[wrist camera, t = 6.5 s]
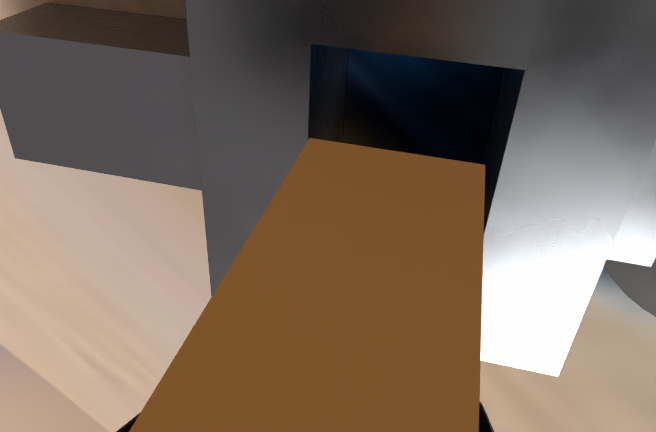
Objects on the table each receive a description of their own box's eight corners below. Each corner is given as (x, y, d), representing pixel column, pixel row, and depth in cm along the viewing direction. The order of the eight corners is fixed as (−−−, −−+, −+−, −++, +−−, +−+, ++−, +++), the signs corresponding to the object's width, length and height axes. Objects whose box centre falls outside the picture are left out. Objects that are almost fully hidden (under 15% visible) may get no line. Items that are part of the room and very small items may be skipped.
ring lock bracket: (1254, -29, 11) (1828, 71, 6) (910, 352, 18) (1071, 550, 13) (17, -127, 16) (-190, -111, 11) (90, 202, 22) (-22, 304, 17)
